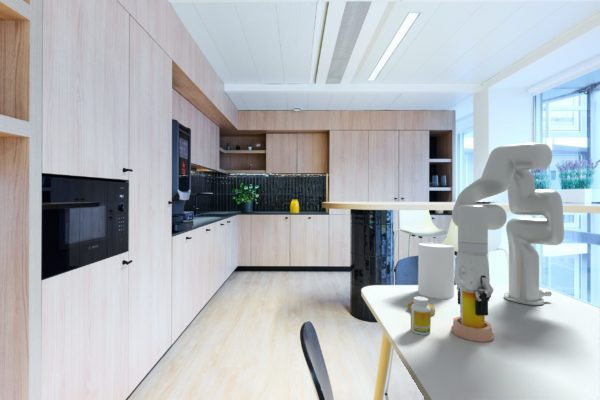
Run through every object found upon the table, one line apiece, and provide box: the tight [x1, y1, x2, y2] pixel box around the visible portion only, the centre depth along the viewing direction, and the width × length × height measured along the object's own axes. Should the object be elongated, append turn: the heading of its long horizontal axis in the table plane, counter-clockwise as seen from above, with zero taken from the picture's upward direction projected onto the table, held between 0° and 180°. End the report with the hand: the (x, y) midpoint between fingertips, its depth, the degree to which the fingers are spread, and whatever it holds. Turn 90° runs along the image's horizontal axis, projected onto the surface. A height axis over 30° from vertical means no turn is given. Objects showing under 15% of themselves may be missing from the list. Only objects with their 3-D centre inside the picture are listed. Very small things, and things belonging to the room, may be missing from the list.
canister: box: [417, 242, 455, 300], centre depth 129 cm, size 14×14×20 cm
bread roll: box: [407, 299, 436, 316], centre depth 107 cm, size 8×9×4 cm
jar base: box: [450, 316, 495, 343], centre depth 90 cm, size 11×11×3 cm
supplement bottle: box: [410, 295, 432, 336], centre depth 91 cm, size 5×5×10 cm
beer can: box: [459, 278, 486, 328], centre depth 89 cm, size 6×6×15 cm
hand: (472, 309), depth 90 cm, fingers open, 8 cm apart
